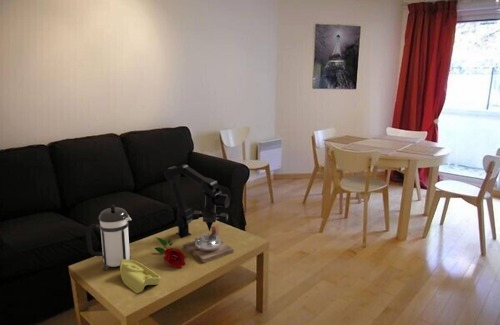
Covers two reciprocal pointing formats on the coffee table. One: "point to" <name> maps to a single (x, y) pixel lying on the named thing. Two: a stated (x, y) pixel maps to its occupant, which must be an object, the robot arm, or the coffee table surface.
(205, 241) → the round disc with cubes
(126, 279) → the plastic component
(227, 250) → the square disc baseplate
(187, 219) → the robot arm
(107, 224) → the coffee press
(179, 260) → the flower
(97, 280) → the coffee table surface
